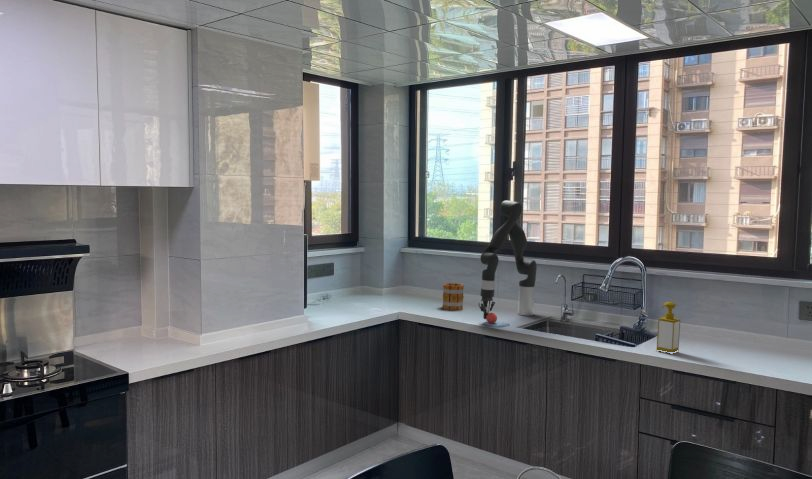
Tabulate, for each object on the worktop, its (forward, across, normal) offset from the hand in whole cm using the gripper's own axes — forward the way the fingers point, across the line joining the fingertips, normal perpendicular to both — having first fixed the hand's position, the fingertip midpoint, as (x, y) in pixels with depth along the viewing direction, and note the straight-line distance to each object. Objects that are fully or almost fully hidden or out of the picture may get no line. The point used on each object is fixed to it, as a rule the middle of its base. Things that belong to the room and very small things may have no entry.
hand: (485, 318), depth 339 cm
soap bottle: (+1, +11, -95) cm, 96 cm away
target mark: (+2, +1, -7) cm, 7 cm away
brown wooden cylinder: (+2, +20, +40) cm, 45 cm away
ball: (-1, 0, -4) cm, 4 cm away
